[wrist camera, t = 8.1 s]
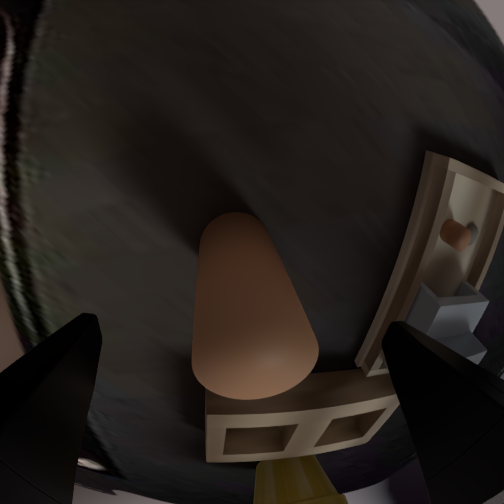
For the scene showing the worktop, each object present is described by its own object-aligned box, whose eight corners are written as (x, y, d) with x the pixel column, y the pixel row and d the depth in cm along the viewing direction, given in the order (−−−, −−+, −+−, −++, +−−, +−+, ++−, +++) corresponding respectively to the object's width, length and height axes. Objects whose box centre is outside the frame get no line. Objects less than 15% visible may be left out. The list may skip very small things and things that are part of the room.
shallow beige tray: (498, 182, 13) (519, 191, 11) (431, 348, 19) (443, 364, 17) (426, 150, 12) (451, 157, 10) (354, 361, 18) (364, 382, 16)
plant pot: (318, 467, 28) (336, 527, 20) (239, 478, 27) (248, 543, 18) (341, 435, 24) (368, 512, 15) (240, 450, 22) (253, 537, 14)
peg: (275, 215, 13) (334, 314, 6) (264, 277, 14) (301, 396, 8) (201, 209, 12) (191, 311, 6) (198, 274, 13) (192, 399, 7)
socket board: (392, 363, 19) (409, 390, 16) (356, 418, 22) (366, 442, 20) (205, 375, 17) (206, 414, 14) (204, 431, 20) (206, 462, 17)
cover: (467, 281, 15) (507, 318, 11) (432, 348, 18) (462, 387, 14) (416, 281, 14) (462, 329, 10) (380, 357, 17) (409, 407, 13)
